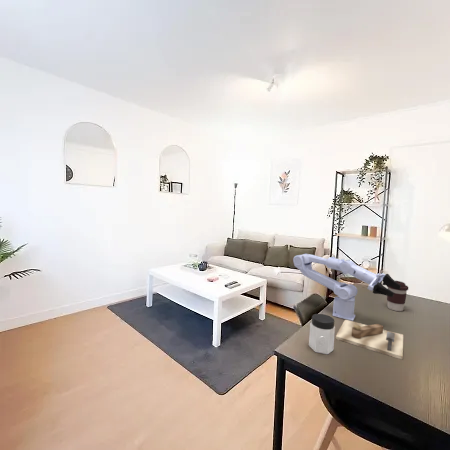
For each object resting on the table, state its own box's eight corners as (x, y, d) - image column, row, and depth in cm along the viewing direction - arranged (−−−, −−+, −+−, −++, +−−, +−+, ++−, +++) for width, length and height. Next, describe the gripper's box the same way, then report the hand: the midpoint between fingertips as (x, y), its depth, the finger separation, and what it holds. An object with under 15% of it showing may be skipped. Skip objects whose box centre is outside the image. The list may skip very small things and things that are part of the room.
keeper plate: (335, 338, 108) (336, 325, 107) (344, 321, 124) (345, 309, 124) (402, 359, 95) (403, 343, 94) (403, 337, 111) (404, 324, 111)
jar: (308, 351, 98) (310, 320, 97) (308, 340, 106) (310, 312, 105) (334, 356, 95) (336, 324, 94) (332, 345, 103) (334, 315, 102)
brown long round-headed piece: (356, 338, 106) (357, 331, 105) (349, 334, 109) (350, 327, 109) (384, 333, 111) (384, 326, 111) (376, 329, 114) (377, 323, 114)
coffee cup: (405, 308, 144) (408, 281, 143) (406, 314, 136) (409, 286, 135) (384, 303, 150) (387, 278, 148) (384, 309, 141) (386, 282, 140)
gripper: (360, 275, 117) (392, 291, 108) (374, 263, 125) (406, 277, 116) (356, 287, 120) (387, 304, 111) (370, 275, 128) (400, 289, 119)
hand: (396, 291), depth 114 cm, fingers open, 7 cm apart
